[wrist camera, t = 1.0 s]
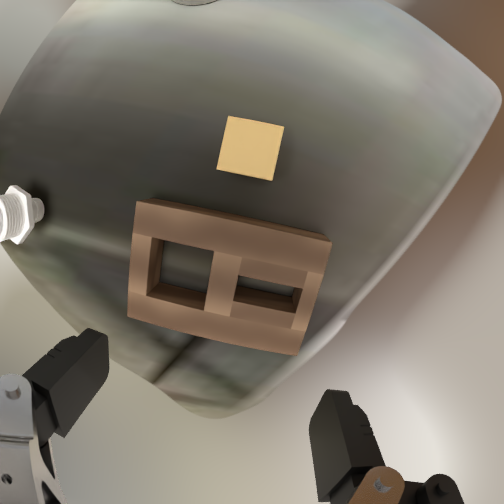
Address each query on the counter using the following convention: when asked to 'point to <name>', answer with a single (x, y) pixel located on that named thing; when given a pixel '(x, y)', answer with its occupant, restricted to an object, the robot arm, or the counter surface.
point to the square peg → (250, 148)
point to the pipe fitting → (18, 214)
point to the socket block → (227, 276)
